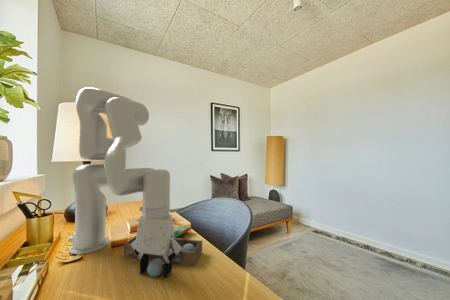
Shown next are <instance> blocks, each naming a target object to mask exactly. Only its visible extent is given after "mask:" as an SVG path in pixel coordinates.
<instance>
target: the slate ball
mask: <svg viewBox="0 0 450 300" xmlns="http://www.w3.org/2000/svg"><path fill="white" fill-rule="evenodd" d="M163 264H164V263H163V261H162V260H161V259H153V260H152V261H149V264H148V267H147V270H146V272H147V274H148V276H149V277H151V278H156V277H158V276H160V275H161V274H163Z"/></svg>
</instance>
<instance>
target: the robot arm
mask: <svg viewBox="0 0 450 300" xmlns="http://www.w3.org/2000/svg"><path fill="white" fill-rule="evenodd" d="M75 107H76V108H75V109H76V113H77V116H78V121H79V144H78V149H79V151H78V153H79V156H80V158H81V159H82V160H86V161H90V162H91V161H92V162H93V161H103V162H104V163H89V164H88V163H87V164H83V165H80V166H77V167H76V168H75V169H74V171H73V172H72V182H73V187H74V194H75V196H74V197H75V204H74V206H75V214H74V217H75V218H74V232H73V233H72V236H70V237H69V238H68V241H72V245H70V246H69V249H68V254H70V253H71V254H70V255H72V254H78V255H85V254H90V253H94V252H96V251H99V250H101V249H103V248H105V247H106V246H108V245H109V244H110V242H111V238H110V237H108V236H106V223H107V218H106V217H107V216H106V215H107V198H106V195H105V194H104V192H102V191H101V189H102V188H107V187H108V188H109V190H110V191H111V193H112V194H113V195H115V196H121V197H122V196H127V195H132V194H136V193H137V194H138V193H142V206H140V207H139V212H142V213H141V215H140V217H139V220H138V223H137V229H136V236H135V237H136V240H134V241H133V242H132V243H131V246H132V247H133V249H134V250H135V253H136V254H137V255H138V260H139V274H141V275H142V274H144V273H145V272H147V267H148V264H149V263H150V261H149V256H148V254H152V255H160V256H163V257H164V260H165V263H164V264H163V271H162V275H163V278H164V279H165V278H167V277H168V276H169V275H170V274H171V272H172V271H173V264H172V259H173V258H174V257H175V256H176V255H177V254H178V253H179V252H180V251H181V249H182V247H181V246H180V245H179V244H178V243H177V242H176V240H175V239H174V228H173V222H174V221H173V217H172V214H170V211H171V210H170V209H171V208H170V207H171V206H170V205H171V204H170V201H171V200H170V199H171V194H170V193H171V191H170V188H171V173H170V171H169V170H166V169H155V168H152V167H138V168H137V167H134V168H126V164H127V163H126V162H127V161H126V160H127V159H126V158H127V157H126V156H127V149H129V148H131V147H134V146H137V144H139V143H140V142H141V141H142V139H143V137H142V133H141V130H140V127H141V126H144V125H146V124H147V123H148V121H149V118H150V113H149V110H148V108H147V107H146V106H145V104H142V103H140V102H139V101H137V100H134V99H132V98H129V97H126V96H124V95H120V94H117V93H113V92H111V91H107V90H104V89H99V88H96V87H84V88H81V89H80V90H79V91H78V93H77V96H76V99H75ZM101 114H103V115H106V117H107V122H108V124H107V122H106V121H105V119H104V118H103V116H101ZM107 125H109V130H110V133H111V136H112V137H110V136H109V137H108V134H107V133H108V126H107ZM139 126H140V127H139ZM171 248H174V249H175V251H174V252H173V253H172V250H171ZM167 253H168V254H167ZM168 255H169V256H168Z"/></svg>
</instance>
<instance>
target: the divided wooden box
mask: <svg viewBox="0 0 450 300" xmlns="http://www.w3.org/2000/svg"><path fill="white" fill-rule="evenodd" d="M174 239H175V240H176V242H177V243H178V244H179V245H180V246H181V247H182V248H183V246H184V245H185V244H188V243H190V244H192V245H193V246H194V247H195V248H194V250H193V251H185V250H182V249H181V251H180V252H179V253H178V254H177V255H176V256H175V257H174V258H173V259H172V265H178V266H186V267H192V268H194V267H195V265H196V263H197V262H198V261H199V259H200V257H201V256H202V255H203V240H200V239H199V240H197V239H189V238H180V237H175V238H174ZM134 240H136V236H135V237H133V238H131V239H130V240H128V241H127V242H125V243H123V258H129V259H130V258H131V259H134V260H135V259H138V255H137V254H136V253H135V250H134V249H133V247H132V246H131V243H132V242H133V241H134ZM171 250H172V253H173V252H174V251H175V249H174V248H171ZM167 254H168V253H167ZM148 256H149V262H151V261H152V260H153V259H161V260H162V261H163V263H165V260H164V257H163V256H160V255H152V254H148ZM168 256H169V255H168ZM138 260H139V259H138Z"/></svg>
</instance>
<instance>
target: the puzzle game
mask: <svg viewBox="0 0 450 300" xmlns="http://www.w3.org/2000/svg"><path fill="white" fill-rule="evenodd" d="M173 228H174V238H178V237H179V236H181V235H182V234H185V233H187V232H189V231H191V230H192V226H189V225H186V224H183V223H179V222H176V221H173Z"/></svg>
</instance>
